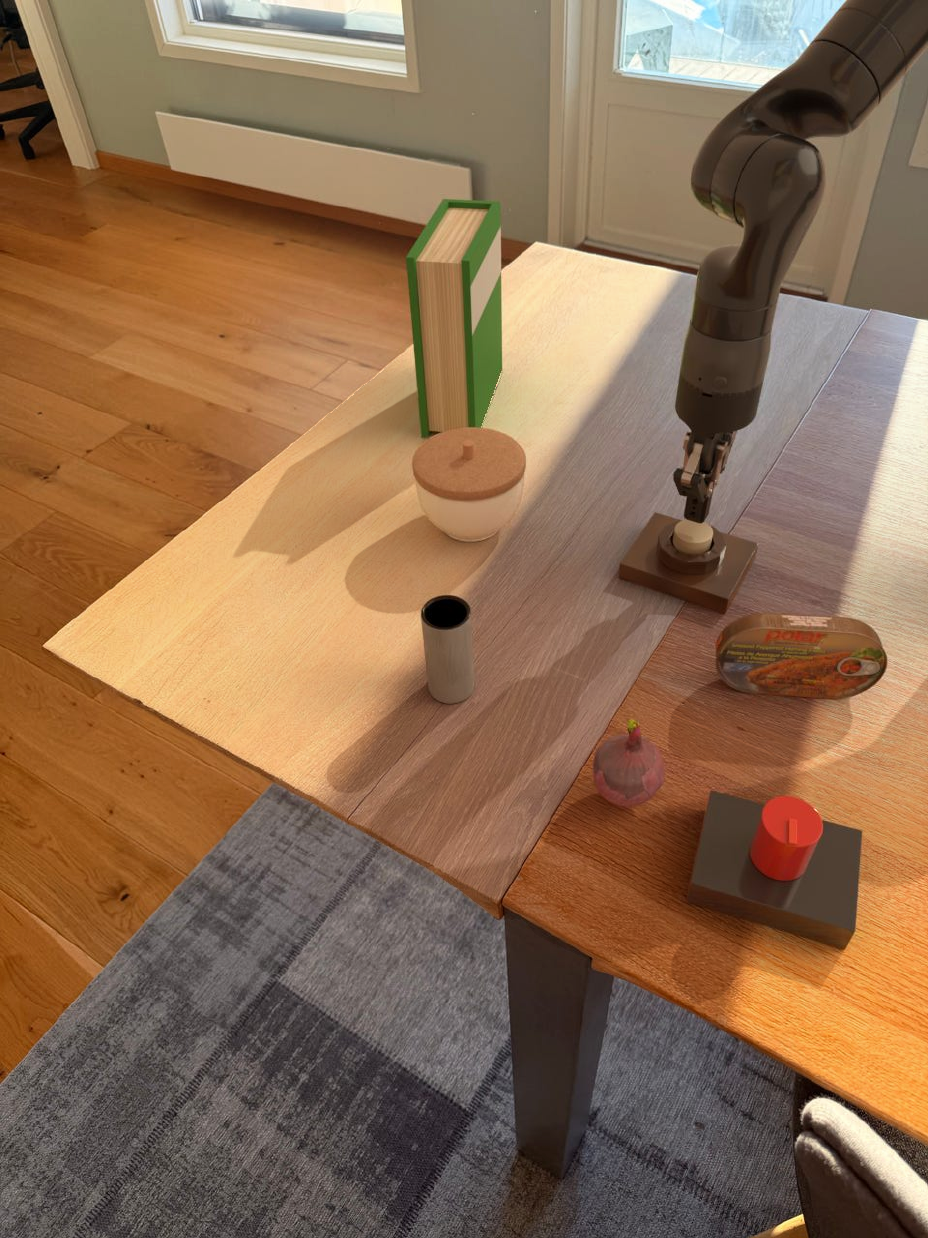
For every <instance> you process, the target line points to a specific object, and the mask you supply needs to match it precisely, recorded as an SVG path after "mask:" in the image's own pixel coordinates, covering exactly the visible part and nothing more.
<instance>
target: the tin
mask: <svg viewBox="0 0 928 1238" xmlns="http://www.w3.org/2000/svg"><path fill="white" fill-rule="evenodd" d="M887 668H888V655H887V652H886V651H885V649H884V646H883V644H882V641H881V638H880V636H879V635H878V633H877V631H876V630H875V629H874V628H873V627H872V626H870V625H869V624H868V623H866V622H864V621H862V620H860V619H856V618H852V617H847V616H832V615H831V616H828V615H813V614H791V613H790V614H789V613H775V612H773V613H772V612H756V613H751V614H746V615H743V616H741V617H738V618H737V619H735V620H733V621H731V622H730V623H729V624H728V625H726V626H725V627H724V628H723V629H722V630H721V631H720V633H719V635H718V637H717V640H716V642H715V670H716V672H717V675H718V676H719V678H720V680H722V682H723V683H725V684H726V685H727V686H728V687H731V688H732V689H734V690H735V691H738V692H742V693H746V694H750V695H766V696H780V697H781V696H782V697H797V698H799V697H800V698H809V699H823V700H824V699H825V700H840V699H846V698H847V699H848V698H851V697H855V696H858V695H859V694H863V693H864V692H866V691H868V690H870V689H871V688H872V687H874V686H875V685H876V684H877V683H879V681H880V680H881V679H882V678H883V676H884V675H885V673H886V670H887Z"/></svg>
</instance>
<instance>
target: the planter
mask: <svg viewBox="0 0 928 1238" xmlns="http://www.w3.org/2000/svg"><path fill="white" fill-rule="evenodd" d="M420 621H421V631H422V638H423V648H424V649H423V650H424V659H425V667H426V679H427V687H428V691H429V693H430V695H431V697H432V698H433V699H435V701H438V702H439V703H443V704H450V705H451V704H458V703H461V702H463V701H466V700H467V699H469V697H471V695H472V694H473V692H474V690H475V664H474V663H475V662H474V643H473V623H472V609H471V606H470V604H469V603H468V602H467V601H466V600H465V599H464V598H462V597H460V596H457V595H452V594H442V595H437V596H435V597H432V598H430V599H428V600H427V601H426V602H425V603H424V604H423V606H422V607H421V610H420Z"/></svg>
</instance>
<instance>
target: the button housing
mask: <svg viewBox="0 0 928 1238" xmlns="http://www.w3.org/2000/svg"><path fill="white" fill-rule="evenodd" d="M683 520H684V519H679V518H675V517H672V516H670V515H667V514H662V513H658V512H653V514H652V516H651V517H650V519H649V520H648V522H647V523H646V525H644V527H643V529H642V531H640V534H638V536H637V537H636V539H635V541H634V542H633V543H632V545H631V546H630V548H629V549H628V551H627V552H626V554H625V555H624V557H623V558H622V560H621V561H620V562H619V569H618V576H617V577H618V579H620V580H623V581H625V582H628V583H631V584H634V585H637V586H640V587H643V588H646V589H649V590H652V591H655V592H657V593H661V594H663V595H666V596H669V597H673V598H675V599H678V600H681V601H685V602H687V603H690V604H692V605H696V606H699V607H702V608H705V609H708V610H711V611H714V612H717V613H720V614H722V615H726V614H727V613H728V610H729V608H730V606H731V605H732V603H733V601H734V599H735V597H736V595H737V594H738V591H739V589H740V588H741V586H742V584H743V582H744V581H745V579H746V576H747V575H748V573H749V571H750V569H751V568H752V566H753V564H754V562H755V560H756V556H757V552H758V548H759V542H755V541H752V540H748V539H745V538H742V537H739V536H735V535H732V534H729V533H725V532H722V531H720V530H718V529H717V528H716V527H714V525H712V524H709V523H707V524H708V525H709V526H710V527H711V528H712V530H713V537H712V542H711V547H710V549H709V550H708V551H707V552H706V553H703V554H699V555H689V554H686V553H683V552H680V551H678V550H677V549H676V548H675V547H674V545H673V535H674V529H675V526H676V525H677V524H678V523H679V522H681V521H683Z"/></svg>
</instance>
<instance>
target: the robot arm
mask: <svg viewBox="0 0 928 1238" xmlns="http://www.w3.org/2000/svg"><path fill="white" fill-rule="evenodd" d="M927 49H928V0H845V1H844V2H843V4H842V5H841V6H839V8H838V9H837V10H836V12H835V13H834V14H833V15H832V17H831V18H830V19H829V20H828V21H827V23H826V24H825V25H824V26H823V28H822V29H821V30H820V31H819V32H818V33H817V35H816V36H815V37H814V38H813V40H812V41H811V42H810V43H809V44H808V46H807V47H806V48H805V49H804V51H803V52H802V53H801V55H800V56H799V57H798V58H797V59H796V60H795V61H794V62H793V63H792V64H790V65H789V66H787V67H786V68H785V69H783V70H781V71H780V72H779V73H778V74H776V75H775V76H773V77H771V78H770V79H769V80H768V81H766V82H765V83H764V84H763V85H761V86H760V87H759V88H758V89H757V90H756V91H754V92H753V93H752V94H750V95H749V96H747V98H745V99H744V100H743V101H741V102H740V103H739V104H738V105H736V106H735V107H734V108H732V110H730V111H729V112H728V113H727V114H726V115H724V116H723V117H722V118H721V119H720V120H719V121H718V123H716V124H715V125H714V127H713V128H712V129H711V130H710V132H709V133H708V135H707V136H706V137H705V139H704V140H703V141H702V144H701V145H700V147H699V149H698V151H697V153H696V155H695V158H694V161H693V164H692V169H691V174H690V189H691V192H692V196H693V198H694V199H695V201H696V203H697V204H698V205H699V206H700V207H701V208H702V209H704V210H705V211H707V212H708V213H711V214H712V215H714V216H717V217H718V218H720V219H722V220H725V221H727V222H728V223H731V224H734V225H736V226H738V227H740V228H743V237H742V242H741V244H726V245H722V246H718V247H716V248H713V249H711V250H710V251H709V252H708V253H706V254H705V256H703V258H702V260H701V261H700V264H699V266H698V270H697V274H696V279H695V286H694V293H693V299H692V308H691V313H690V319H689V324H688V327H687V330H686V331H687V332H686V334H685V337H684V340H683V348H682V354H681V360H680V361H681V362H680V368H679V375H678V381H677V388H676V394H675V395H676V396H675V402H674V410H675V413H676V415H677V417H678V418H679V419H680V421H681V422H683V423H684V425H686V426H687V427H688V428H689V430H687V432H686V433H685V436H684V438H683V439H684V440H683V445H682V448H683V450H684V458H683V466H680V467H676V469H675V470H674V472H673V473H672V476H673V478H672V481H673V482H674V486H675V488H676V490H677V492H678V494H679V496H681V497H686V499H685V506H684V511H683V518H684V520H690V521H693V522H696V523H700V524H701V523H703V522H705V521H706V519H707V518H708V516H709V514H710V511H711V510H710V509H711V504H712V498H713V494H714V490H715V488H717V486H718V484H719V477H720V475H723V473H724V472H725V470H726V465H727V463H728V459H729V456H730V453H731V451H732V447H733V444H734V442H735V440H736V436H737V433H738V431H740V430H743V429H745V428H746V427H748V426H750V424H752V423H753V421H755V419H756V417H757V414H758V408H759V405H760V404H759V403H760V400H761V395H762V390H763V385H764V381H765V377H766V371H767V368H768V363H769V357H770V352H771V346H772V345H771V344H772V331H773V325H774V321H775V317H776V312H777V307H778V303H779V297H780V293H781V287H782V284H783V282H784V279H785V278H786V275H787V273H788V271H789V270H790V268H791V265H792V264H793V262H794V259H795V258H796V256H797V253H798V251H799V250H800V248H801V245H802V243H803V242H804V239H805V238H806V235H807V234H808V232H809V230H810V228H811V227H812V224H813V222H814V221H815V219H816V218H817V217H816V216H817V215H818V212H819V210H820V208H821V206H822V204H823V200H824V198H825V193H826V187H827V171H826V163H825V160H824V157H823V155H822V152H821V151H820V150H819V148H818V147H817V146H816V145H815V144H813V143H812V142H810V141H809V140H810V139H815V138H839V137H840V138H841V137H844V136H847V135H850V134H851V133H853V132H855V131H856V130H857V129H858V128H860V126H862V125H863V124H864V123H865V121H866V120H868V119H869V117H870V116H871V115H872V113H874V111H876V109H877V108H878V107H879V105H880V104H881V103H883V101H884V100H885V99H886V97H887V96H888V95H889V94H890V93H891V92H892V90H893V89H894V88H895V87H896V86H897V84H898V83H899V82H900V81H902V79H903V78H904V76H905V75H906V74H907V73H908V72H909V70H910V69H911V68H912V67H913V65H914V64H915V63H916V62H917V61H918V59H919V58H920V57H921V56H922V55H923V53H925V51H926V50H927Z"/></svg>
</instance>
